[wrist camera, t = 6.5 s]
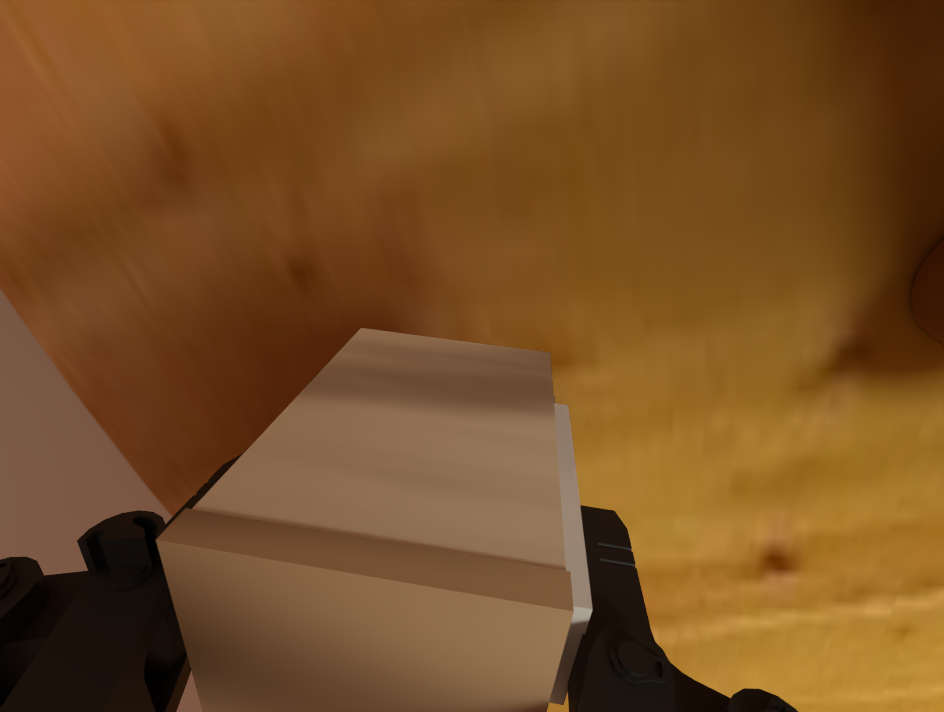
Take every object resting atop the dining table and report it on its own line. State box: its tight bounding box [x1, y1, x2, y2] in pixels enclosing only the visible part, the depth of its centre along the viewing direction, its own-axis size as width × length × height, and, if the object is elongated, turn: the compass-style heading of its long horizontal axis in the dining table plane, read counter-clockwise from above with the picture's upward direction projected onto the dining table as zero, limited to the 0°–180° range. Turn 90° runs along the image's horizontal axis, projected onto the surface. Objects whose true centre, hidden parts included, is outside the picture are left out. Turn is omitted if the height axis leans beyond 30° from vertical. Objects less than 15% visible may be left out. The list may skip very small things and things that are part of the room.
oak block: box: [156, 328, 574, 712], centre depth 11 cm, size 6×6×8 cm
